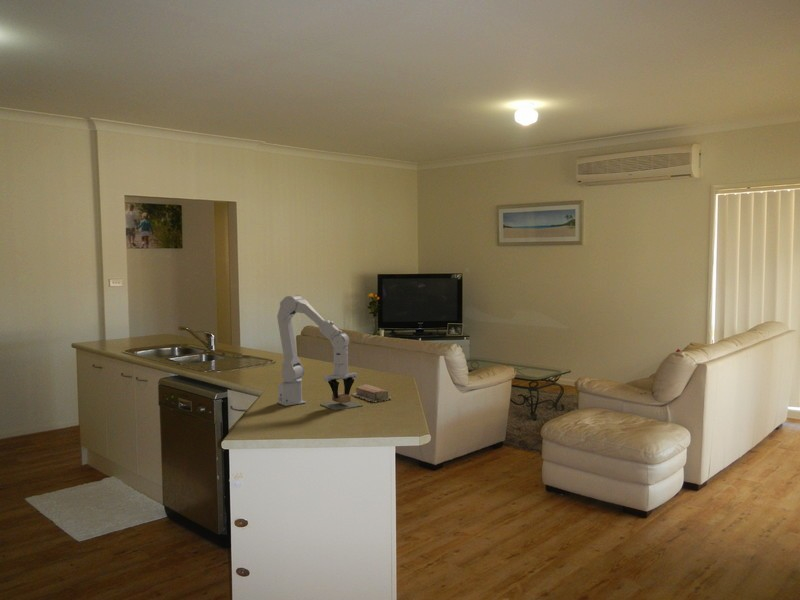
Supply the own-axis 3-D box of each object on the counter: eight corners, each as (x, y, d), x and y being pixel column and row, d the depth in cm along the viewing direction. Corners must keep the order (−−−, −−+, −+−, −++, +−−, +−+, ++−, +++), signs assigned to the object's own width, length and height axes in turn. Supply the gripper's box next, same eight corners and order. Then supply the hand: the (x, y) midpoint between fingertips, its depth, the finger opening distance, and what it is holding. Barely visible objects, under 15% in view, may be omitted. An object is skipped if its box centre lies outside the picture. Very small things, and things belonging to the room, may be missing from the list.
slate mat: (334, 410, 253) (334, 409, 253) (319, 404, 263) (319, 404, 263) (362, 406, 261) (362, 405, 261) (347, 400, 271) (347, 399, 271)
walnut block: (332, 400, 264) (332, 393, 263) (341, 398, 266) (341, 392, 266) (340, 403, 258) (340, 396, 258) (350, 401, 260) (350, 395, 260)
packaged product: (392, 389, 272) (372, 392, 267) (392, 400, 273) (372, 403, 267) (370, 382, 287) (350, 385, 282) (370, 393, 288) (350, 396, 282)
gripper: (329, 366, 254) (330, 401, 254) (361, 363, 262) (361, 396, 263) (321, 364, 259) (321, 398, 260) (352, 361, 268) (353, 393, 268)
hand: (341, 397), depth 262 cm, fingers closed on walnut block, 4 cm apart
